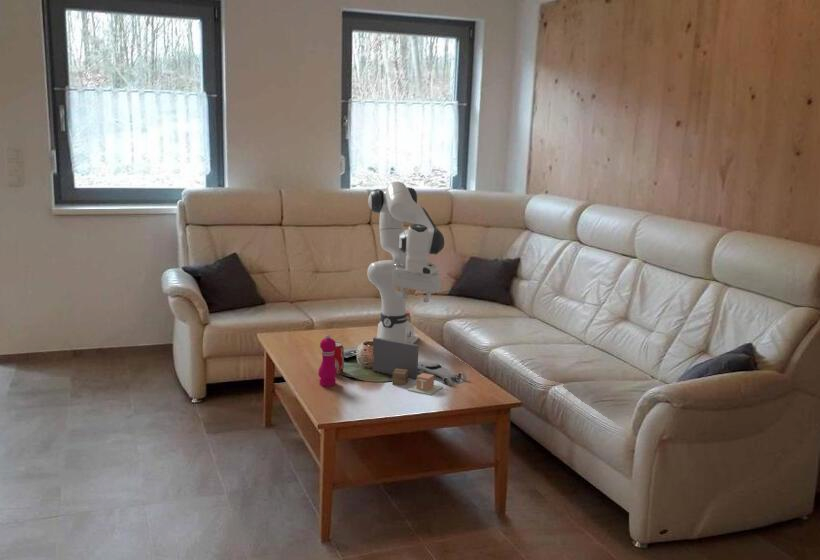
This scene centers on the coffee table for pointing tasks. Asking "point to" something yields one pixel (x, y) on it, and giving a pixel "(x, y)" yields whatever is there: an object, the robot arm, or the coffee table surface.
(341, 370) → the soda can
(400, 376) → the walnut block
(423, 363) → the car model
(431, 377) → the letter block
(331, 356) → the pepper mill
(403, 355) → the screen
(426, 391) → the felt mat
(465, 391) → the coffee table surface
